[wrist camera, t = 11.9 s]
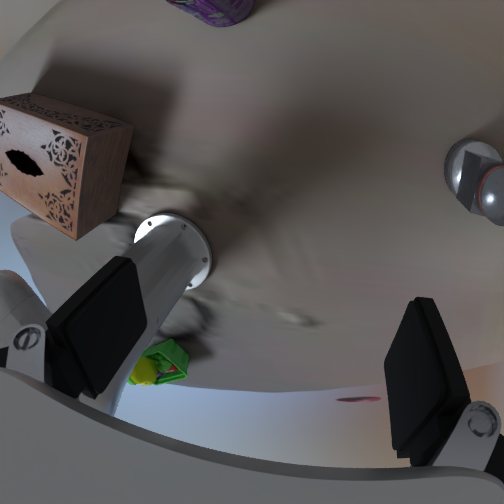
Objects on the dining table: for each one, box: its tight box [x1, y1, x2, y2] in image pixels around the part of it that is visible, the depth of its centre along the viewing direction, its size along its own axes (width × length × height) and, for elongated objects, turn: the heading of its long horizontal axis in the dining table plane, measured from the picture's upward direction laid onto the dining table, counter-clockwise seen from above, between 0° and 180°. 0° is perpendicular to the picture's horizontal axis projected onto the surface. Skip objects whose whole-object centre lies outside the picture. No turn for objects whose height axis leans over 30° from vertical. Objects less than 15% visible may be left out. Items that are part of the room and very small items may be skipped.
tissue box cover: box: [0, 92, 135, 241], centre depth 35 cm, size 26×14×10 cm, turn 68°
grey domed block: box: [456, 150, 504, 226], centre depth 23 cm, size 6×6×7 cm
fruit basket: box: [127, 339, 189, 385], centre depth 51 cm, size 11×9×11 cm
